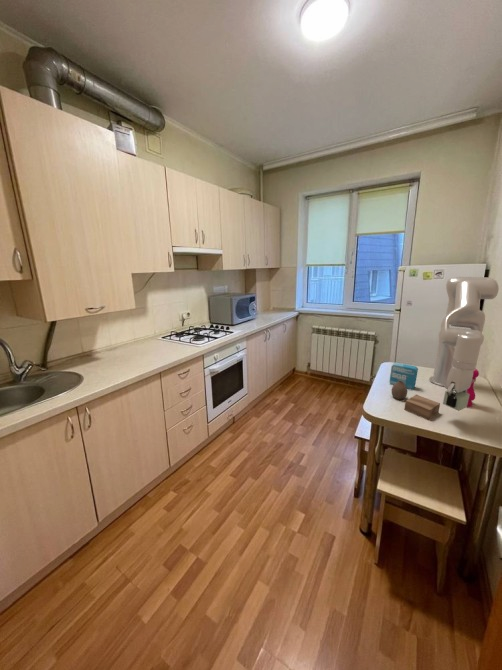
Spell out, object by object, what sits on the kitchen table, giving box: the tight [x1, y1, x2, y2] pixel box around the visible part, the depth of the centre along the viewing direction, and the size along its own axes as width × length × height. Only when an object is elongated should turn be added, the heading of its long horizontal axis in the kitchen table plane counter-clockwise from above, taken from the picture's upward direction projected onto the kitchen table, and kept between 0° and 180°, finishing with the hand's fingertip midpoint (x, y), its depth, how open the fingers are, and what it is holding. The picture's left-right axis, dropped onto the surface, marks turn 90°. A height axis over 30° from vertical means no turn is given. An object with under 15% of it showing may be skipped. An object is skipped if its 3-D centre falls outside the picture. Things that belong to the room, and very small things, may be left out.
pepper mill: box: [466, 368, 480, 408], centre depth 123 cm, size 7×7×20 cm
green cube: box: [442, 389, 470, 412], centre depth 109 cm, size 6×6×6 cm
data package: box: [389, 362, 419, 390], centre depth 144 cm, size 12×4×12 cm, turn 52°
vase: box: [391, 381, 408, 400], centre depth 131 cm, size 7×7×9 cm
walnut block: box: [403, 394, 441, 421], centre depth 119 cm, size 10×10×5 cm
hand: (455, 403), depth 110 cm, fingers closed on green cube, 6 cm apart
